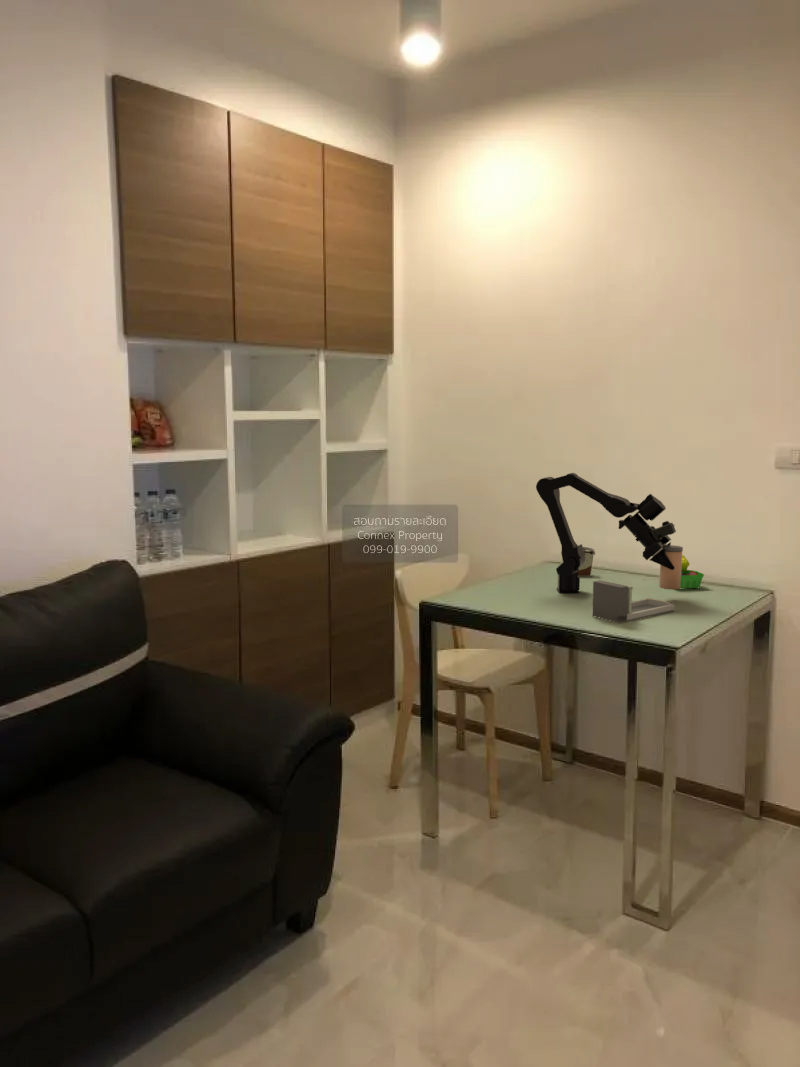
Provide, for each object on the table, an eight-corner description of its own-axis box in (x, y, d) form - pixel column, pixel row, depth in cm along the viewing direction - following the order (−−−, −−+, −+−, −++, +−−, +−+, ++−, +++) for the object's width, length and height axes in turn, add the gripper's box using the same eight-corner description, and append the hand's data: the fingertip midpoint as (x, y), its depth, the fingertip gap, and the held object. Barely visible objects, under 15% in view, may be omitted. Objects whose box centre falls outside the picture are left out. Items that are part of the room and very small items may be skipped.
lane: (619, 623, 249) (621, 587, 247) (592, 616, 257) (593, 581, 256) (673, 611, 262) (675, 577, 261) (646, 604, 271) (647, 571, 269)
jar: (662, 589, 273) (664, 548, 270) (656, 585, 279) (658, 545, 277) (683, 589, 272) (685, 548, 270) (677, 585, 279) (679, 545, 277)
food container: (592, 573, 321) (593, 546, 319) (594, 576, 315) (595, 549, 313) (558, 572, 322) (559, 546, 320) (560, 576, 316) (560, 549, 314)
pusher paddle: (628, 616, 253) (629, 587, 251) (608, 611, 259) (609, 583, 258) (631, 616, 254) (632, 586, 252) (611, 611, 260) (612, 582, 258)
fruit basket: (672, 590, 291) (674, 557, 289) (660, 585, 299) (662, 553, 298) (704, 589, 292) (706, 556, 291) (691, 583, 301) (693, 551, 299)
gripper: (655, 517, 266) (690, 555, 262) (665, 510, 282) (699, 546, 279) (628, 540, 270) (662, 578, 267) (639, 532, 287) (672, 568, 284)
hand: (675, 567), depth 274 cm, fingers closed on jar, 6 cm apart
